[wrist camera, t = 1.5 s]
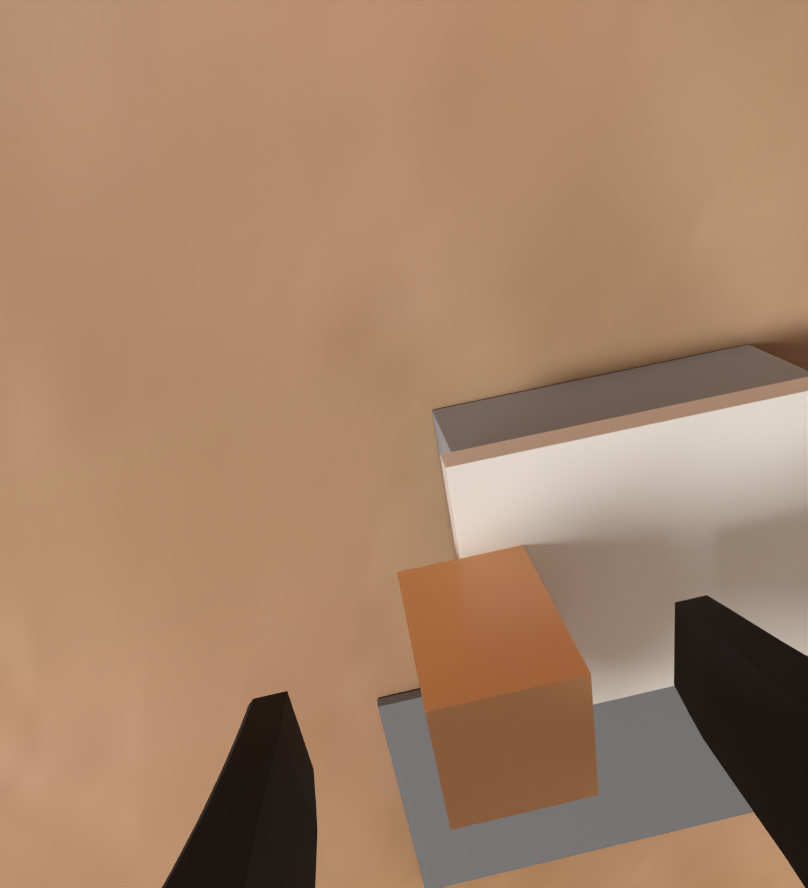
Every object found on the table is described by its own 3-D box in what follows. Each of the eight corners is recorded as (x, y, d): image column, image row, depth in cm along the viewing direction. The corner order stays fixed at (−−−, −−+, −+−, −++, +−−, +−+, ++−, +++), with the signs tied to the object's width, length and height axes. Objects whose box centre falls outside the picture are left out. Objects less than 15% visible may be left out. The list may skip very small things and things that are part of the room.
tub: (748, 344, 16) (838, 383, 13) (735, 556, 19) (807, 624, 16) (431, 410, 16) (456, 464, 13) (465, 616, 18) (492, 697, 16)
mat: (795, 604, 20) (801, 610, 19) (773, 798, 24) (778, 806, 23) (377, 698, 19) (378, 706, 19) (424, 882, 23) (425, 891, 23)
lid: (835, 360, 14) (1074, 454, 9) (804, 618, 17) (974, 780, 12) (373, 457, 13) (401, 602, 9) (426, 705, 16) (466, 902, 12)
